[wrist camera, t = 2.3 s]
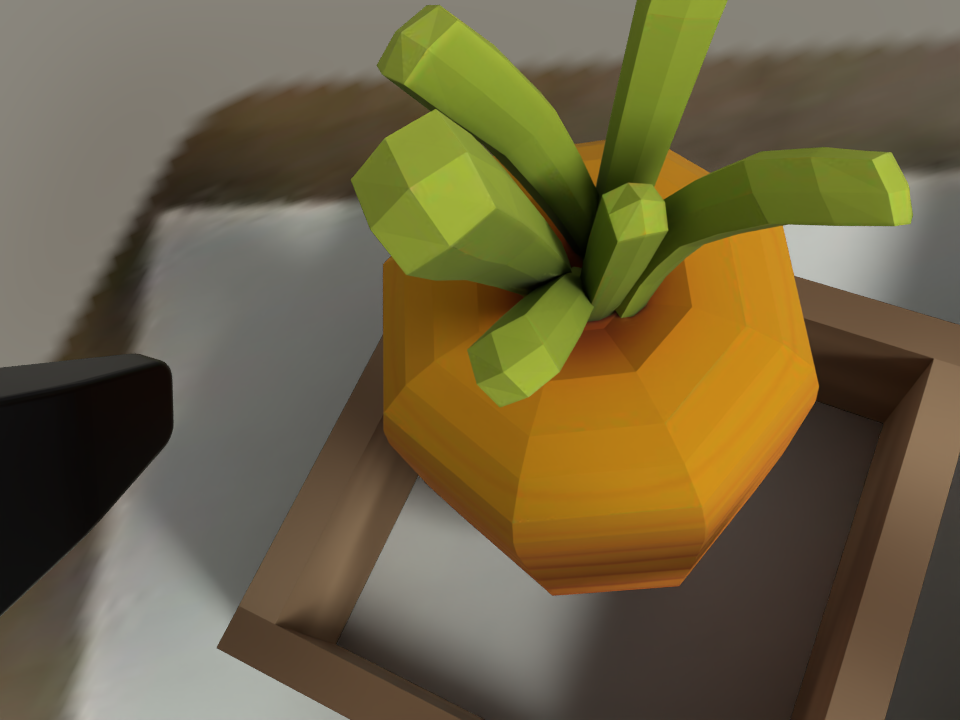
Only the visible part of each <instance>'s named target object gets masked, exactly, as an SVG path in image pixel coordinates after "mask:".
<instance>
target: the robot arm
mask: <svg viewBox="0 0 960 720" xmlns="http://www.w3.org/2000/svg"><path fill="white" fill-rule="evenodd" d="M173 423H174V420H173V385H172V373H171V370H170V368H169V366H168V365H167V364H166V363H165V362H163V361H160V360H157V359H154V358H151V357H147V356H144V355H141V354H125V355H115V356H106V357H97V358H87V359H78V360H68V361H59V362H50V363H40V364H31V365H21V366H12V367H3V368H0V616H1V615H2V614H4V613H5V612H6V611H7V610H8V609H9V608H10V607H11V606H12V605H13V604H14V603H15V602H16V601H17V600H18V599H20V598H21V597H22V596H23V595H24V594H25V593H26V592H27V591H28V590H29V589H30V588H31V587H32V586H33V585H35V584H36V583H37V582H38V581H39V580H40V579H41V578H42V577H43V576H44V575H45V574H46V573H47V572H48V571H49V570H51V569H52V568H53V567H54V566H55V565H56V564H57V563H58V562H59V561H60V560H61V559H62V558H63V557H64V556H65V555H67V554H68V553H69V552H70V551H71V550H72V549H73V548H74V547H75V546H76V545H77V544H78V543H79V542H80V541H81V540H82V539H83V538H84V537H85V536H86V535H87V534H88V533H89V532H90V531H91V530H92V529H93V527H94V526H95V525H96V524H97V523H98V522H99V521H100V520H101V519H102V518H103V516H104V515H105V514H106V513H107V512H108V511H109V510H110V508H111V507H112V506H113V505H114V504H115V503H116V502H117V500H118V499H119V498H120V497H121V496H122V495H123V494H124V493H125V491H126V490H127V489H128V488H129V487H130V486H131V485H132V483H133V482H134V481H135V480H136V479H137V478H138V477H139V475H140V474H141V473H142V472H143V471H144V470H145V469H146V468H147V466H148V465H149V464H150V463H151V462H152V461H153V460H154V458H155V457H156V456H157V455H158V454H159V453H160V452H161V450H162V449H163V448H164V447H165V446H166V444H167V443H168V441H169V439H170V437H171V434H172V431H173Z"/></svg>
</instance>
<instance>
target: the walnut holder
mask: <svg viewBox="0 0 960 720" xmlns="http://www.w3.org/2000/svg"><path fill="white" fill-rule="evenodd" d="M794 278H795V282H796V287H797V291H798V295H799V300H800V304H801V309H802V313H803V318H804V322H805V326H806V331H807V335H808V340H809V344H810V349H811V353H812V357H813V362H814V366H815V371H816V375H817V379H818V384H819V389H818V393H817V398H816V401H819V402H822V403H825V404H828V405H831V406H834V407H837V408H840V409H843V410H846V411H849V412H852V413H854V414H857V415H860V416H863V417H866V418H869V419H872V420H875V421H878V422H881V423H884V424H883V427H882V430H881V433H880V436H879V440H878V443H877V446H876V449H875V452H874V455H873V459H872V462H871V465H870V468H869V471H868V475H867V478H866V481H865V484H864V487H863V490H862V494H861V497H860V500H859V503H858V506H857V510H856V513H855V516H854V519H853V522H852V525H851V529H850V532H849V535H848V538H847V541H846V545H845V548H844V551H843V554H842V557H841V560H840V564H839V567H838V570H837V573H836V576H835V580H834V583H833V586H832V589H831V592H830V595H829V599H828V602H827V605H826V608H825V611H824V615H823V618H822V621H821V624H820V627H819V630H818V634H817V637H816V640H815V643H814V646H813V649H812V653H811V656H810V659H809V662H808V665H807V669H806V672H805V675H804V678H803V681H802V684H801V688H800V691H799V694H798V697H797V700H796V704H795V707H794V710H793V713H792V716H791V719H790V720H885V717H886V713H887V710H888V706H889V703H890V699H891V695H892V692H893V688H894V685H895V681H896V678H897V674H898V671H899V667H900V663H901V660H902V656H903V653H904V649H905V646H906V642H907V639H908V635H909V631H910V628H911V624H912V621H913V617H914V614H915V610H916V606H917V603H918V599H919V596H920V592H921V589H922V585H923V582H924V578H925V574H926V571H927V567H928V564H929V560H930V557H931V553H932V550H933V546H934V542H935V539H936V535H937V532H938V528H939V525H940V521H941V518H942V514H943V510H944V507H945V503H946V500H947V496H948V493H949V489H950V485H951V482H952V478H953V475H954V471H955V468H956V464H957V461H958V457H959V453H960V325H958V324H955V323H951V322H948V321H944V320H941V319H938V318H934V317H931V316H928V315H924V314H921V313H918V312H914V311H911V310H907V309H904V308H901V307H897V306H894V305H891V304H887V303H884V302H880V301H877V300H874V299H870V298H867V297H864V296H860V295H857V294H854V293H850V292H847V291H843V290H840V289H837V288H833V287H830V286H827V285H823V284H820V283H817V282H813V281H810V280H806V279H803V278H800V277H796V276H794ZM417 477H418V474H417V473H416V472H415V471H414V470H413V468H412V467H411V466H410V465H409V464H408V463H407V462H406V461H405V460H404V459H403V458H402V457H401V456H400V455H399V453H398V452H397V451H396V450H395V449H394V448H393V447H392V446H391V445H390V444H389V442H388V439H387V437H386V435H385V433H384V431H383V336H382V337H381V339H380V341H379V343H378V345H377V347H376V349H375V351H374V352H373V354H372V356H371V358H370V360H369V362H368V364H367V366H366V368H365V369H364V371H363V373H362V375H361V377H360V379H359V381H358V383H357V384H356V386H355V388H354V390H353V392H352V394H351V396H350V398H349V399H348V401H347V403H346V405H345V407H344V409H343V411H342V413H341V415H340V416H339V418H338V420H337V422H336V424H335V426H334V428H333V430H332V431H331V433H330V435H329V437H328V439H327V441H326V443H325V445H324V447H323V448H322V450H321V452H320V454H319V456H318V458H317V460H316V462H315V463H314V465H313V467H312V469H311V471H310V473H309V475H308V477H307V478H306V480H305V482H304V484H303V486H302V488H301V490H300V492H299V494H298V495H297V497H296V499H295V501H294V503H293V505H292V507H291V509H290V510H289V512H288V514H287V516H286V518H285V520H284V522H283V524H282V526H281V527H280V529H279V531H278V533H277V535H276V537H275V539H274V541H273V542H272V544H271V546H270V548H269V550H268V552H267V554H266V556H265V557H264V559H263V561H262V563H261V565H260V567H259V569H258V571H257V573H256V574H255V576H254V578H253V580H252V582H251V584H250V586H249V588H248V589H247V591H246V593H245V595H244V597H243V599H242V601H241V603H240V605H239V606H238V608H237V610H236V612H235V614H234V616H233V618H232V620H231V621H230V623H229V625H228V627H227V629H226V631H225V633H224V635H223V636H222V638H221V640H220V642H219V644H218V646H217V648H218V649H219V650H221V651H223V652H225V653H227V654H229V655H231V656H232V657H234V658H236V659H238V660H240V661H242V662H244V663H246V664H247V665H249V666H251V667H253V668H255V669H257V670H259V671H261V672H262V673H264V674H266V675H268V676H270V677H272V678H274V679H275V680H277V681H279V682H281V683H283V684H285V685H287V686H289V687H290V688H292V689H294V690H296V691H298V692H300V693H302V694H304V695H305V696H307V697H309V698H311V699H313V700H315V701H317V702H318V703H320V704H322V705H324V706H326V707H328V708H330V709H332V710H333V711H335V712H337V713H339V714H341V715H343V716H345V717H347V718H348V719H350V720H485V719H483V718H481V717H479V716H477V715H475V714H473V713H471V712H469V711H467V710H465V709H463V708H461V707H459V706H457V705H455V704H453V703H451V702H449V701H447V700H445V699H443V698H441V697H439V696H437V695H435V694H433V693H431V692H429V691H427V690H425V689H423V688H421V687H419V686H417V685H415V684H413V683H412V682H410V681H408V680H406V679H404V678H402V677H400V676H398V675H396V674H394V673H392V672H390V671H388V670H386V669H384V668H382V667H380V666H378V665H376V664H374V663H372V662H370V661H368V660H366V659H364V658H362V657H360V656H358V655H356V654H354V653H352V652H350V651H348V650H346V649H344V648H342V647H340V646H338V645H337V644H336V643H337V641H338V639H339V637H340V635H341V633H342V631H343V629H344V626H345V624H346V622H347V620H348V618H349V616H350V614H351V612H352V610H353V608H354V606H355V604H356V602H357V600H358V598H359V596H360V594H361V592H362V590H363V588H364V586H365V584H366V581H367V579H368V577H369V575H370V573H371V571H372V569H373V567H374V565H375V563H376V561H377V559H378V557H379V555H380V553H381V551H382V549H383V547H384V545H385V543H386V541H387V539H388V536H389V534H390V532H391V530H392V528H393V526H394V524H395V522H396V520H397V518H398V516H399V514H400V512H401V510H402V508H403V506H404V504H405V502H406V500H407V498H408V496H409V493H410V491H411V489H412V487H413V485H414V483H415V481H416V479H417Z"/></svg>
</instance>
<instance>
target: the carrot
mask: <svg viewBox="0 0 960 720" xmlns="http://www.w3.org/2000/svg"><path fill="white" fill-rule="evenodd" d="M726 3H727V0H637V2H636V6H635V11H634V15H633V20H632V24H631V28H630V33H629V37H628V42H627V46H626V50H625V55H624V59H623V64H622V68H621V72H620V77H619V81H618V86H617V90H616V94H615V99H614V103H613V108H612V113H611V117H610V122H609V127H608V131H607V136H606V140H602V141H595V142H587V143H580V144H574V143H573V141H572V139H571V138H570V136H569V134H568V132H567V130H566V129H565V127H564V125H563V123H562V122H561V120H560V118H559V116H558V114H557V113H556V111H555V110H554V108H553V107H552V106H551V105H550V103H549V102H548V101H547V100H546V99H545V97H544V96H543V95H542V94H541V93H540V91H539V90H538V89H537V88H536V87H535V86H534V85H533V84H532V83H531V82H530V81H529V80H528V79H527V78H526V77H525V76H524V75H523V74H522V73H521V72H520V71H519V70H518V69H517V68H516V67H515V66H514V65H513V64H512V63H511V62H510V61H509V60H508V59H507V58H506V57H505V56H504V55H503V54H502V53H501V52H500V51H499V50H498V49H497V48H496V47H495V46H494V45H493V44H492V43H490V42H489V41H488V40H486V39H485V38H484V37H482V36H481V35H480V34H478V33H477V32H475V31H474V30H473V29H471V28H470V27H469V26H467V25H466V24H465V23H463V22H462V21H460V20H459V19H458V18H456V17H455V16H454V15H452V14H451V13H450V12H448V11H447V10H446V9H444V8H443V7H441V6H440V5H427V6H425V7H424V8H423V9H422V10H421V11H420V12H418V13H417V14H416V15H415V16H413V17H412V18H411V19H410V20H409V21H408V22H407V23H405V24H404V25H403V26H402V27H400V28H399V29H398V30H397V31H396V32H395V34H394V35H393V37H392V39H391V41H390V43H389V44H388V46H387V48H386V50H385V52H384V53H383V55H382V57H381V59H380V60H379V62H378V64H377V67H378V68H379V70H380V72H381V73H382V75H384V76H385V77H386V78H388V79H389V80H390V81H392V82H393V83H394V84H396V85H397V86H398V87H400V88H401V89H402V90H403V91H405V92H406V93H407V94H409V95H410V96H411V97H413V98H414V99H415V100H417V101H418V102H419V103H421V104H422V105H423V106H425V107H426V108H427V109H428V110H430V111H431V112H429V113H428V114H426V115H424V116H422V117H421V118H419V119H417V120H415V121H414V122H412V123H410V124H409V125H407V126H405V127H403V128H402V129H400V130H398V131H396V132H395V133H393V134H391V135H389V136H388V137H386V138H385V139H384V140H383V141H382V142H381V144H380V145H379V146H378V147H377V148H376V150H375V151H374V152H373V153H372V155H371V156H370V157H369V158H368V159H367V161H366V162H365V163H364V164H363V165H362V167H361V168H360V169H359V170H358V172H357V173H356V174H355V175H354V176H353V178H352V179H351V182H352V184H353V187H354V189H355V192H356V194H357V197H358V199H359V202H360V205H361V207H362V210H363V212H364V215H365V217H366V220H367V222H368V225H369V228H370V230H371V231H372V232H373V234H374V235H375V236H376V237H377V239H378V240H379V241H380V242H381V244H382V245H383V246H384V247H385V249H386V250H387V251H388V252H389V254H390V255H391V257H390V258H389V259H388V260H387V261H386V262H385V263H384V264H383V431H384V433H385V435H386V437H387V439H388V442H389V444H390V445H391V446H392V447H393V448H394V449H395V450H396V451H397V452H398V453H399V455H400V456H401V457H402V458H403V459H404V460H405V461H406V462H407V463H408V464H409V465H410V466H411V467H412V468H413V470H414V471H415V472H416V473H417V474H418V475H419V476H420V477H421V478H422V479H423V480H424V481H425V482H426V483H427V485H428V486H429V487H430V488H432V489H433V490H434V491H435V492H436V493H437V494H438V495H439V496H440V497H441V498H443V499H444V500H445V501H446V502H447V503H448V504H449V505H450V506H451V507H452V508H454V509H455V510H456V511H457V512H458V513H459V514H460V515H461V516H462V517H463V518H465V519H466V520H467V521H468V522H469V523H470V524H471V525H473V526H474V527H475V528H476V529H477V530H478V531H479V532H481V533H482V534H483V535H484V536H485V537H486V538H487V539H489V540H490V541H491V542H492V543H493V544H494V545H495V546H497V547H498V548H499V549H500V550H501V551H502V552H503V553H505V554H506V555H507V556H508V557H509V558H510V559H511V560H513V561H514V562H515V563H516V564H517V565H518V566H519V567H520V568H522V569H523V570H524V571H525V572H526V573H527V574H528V575H530V576H531V577H532V578H533V579H534V580H535V581H536V582H538V583H539V584H540V585H541V586H542V587H543V588H544V589H546V590H547V591H548V592H549V593H550V594H551V595H552V596H554V595H569V594H582V593H596V592H609V591H622V590H635V589H648V588H662V587H674V586H680V584H681V583H682V582H683V581H684V579H685V578H686V577H687V576H688V574H689V573H690V572H691V571H692V569H693V568H694V567H695V566H696V564H697V563H698V562H699V561H700V559H701V558H702V557H703V556H704V554H705V553H706V552H707V551H708V549H709V548H710V547H711V545H712V544H713V543H714V542H715V540H716V539H717V538H718V537H719V535H720V534H721V533H722V532H723V530H724V529H725V528H726V527H727V525H728V524H729V523H730V522H731V520H732V519H733V518H734V517H735V515H736V514H737V513H738V512H739V510H740V509H741V508H742V507H743V505H744V504H745V503H746V502H747V500H748V499H749V498H750V497H751V495H752V494H753V493H754V492H755V490H756V489H757V488H758V486H759V485H760V484H761V482H762V481H763V480H764V478H765V477H766V476H767V474H768V473H769V472H770V470H771V469H772V468H773V466H774V465H775V464H776V462H777V461H778V460H779V458H780V457H781V456H782V454H783V453H784V451H785V450H786V448H787V446H788V445H789V443H790V442H791V440H792V438H793V437H794V435H795V434H796V432H797V430H798V429H799V427H800V426H801V424H802V422H803V421H804V419H805V417H806V416H807V414H808V413H809V411H810V409H811V408H812V406H813V405H814V403H815V401H816V398H817V393H818V389H819V384H818V379H817V375H816V371H815V366H814V362H813V357H812V353H811V349H810V344H809V340H808V335H807V331H806V326H805V322H804V318H803V313H802V309H801V304H800V300H799V295H798V291H797V287H796V282H795V278H794V273H793V269H792V265H791V260H790V256H789V251H788V247H787V242H786V238H785V234H784V229H783V225H788V224H793V225H828V226H899V225H906V224H911V220H912V217H913V212H912V206H911V199H910V189H909V185H908V183H907V181H906V179H905V177H904V175H903V173H902V171H901V169H900V168H899V166H898V164H897V162H896V160H895V158H894V156H893V155H892V153H891V152H876V151H860V150H849V149H838V148H827V147H820V148H805V149H791V150H777V151H762V152H759V153H757V154H754V155H752V156H750V157H747V158H745V159H742V160H740V161H738V162H735V163H733V164H730V165H728V166H726V167H723V168H721V169H719V170H716V171H714V172H711V173H709V172H707V171H705V170H704V169H702V168H700V167H699V166H697V165H695V164H693V163H692V162H690V161H688V160H687V159H685V158H683V157H681V156H680V155H678V154H676V153H675V152H673V151H671V150H669V148H670V145H671V143H672V140H673V137H674V135H675V132H676V130H677V127H678V125H679V122H680V120H681V117H682V114H683V112H684V109H685V107H686V104H687V102H688V99H689V97H690V94H691V91H692V89H693V86H694V84H695V81H696V79H697V76H698V74H699V71H700V68H701V66H702V63H703V61H704V58H705V56H706V53H707V51H708V48H709V46H710V43H711V40H712V38H713V35H714V33H715V30H716V27H717V25H718V23H719V20H720V17H721V15H722V13H723V10H724V8H725V5H726ZM479 142H480V143H481V144H483V145H484V146H485V147H486V148H487V149H488V150H489V151H490V152H491V153H492V154H493V155H494V156H492V155H491V154H490V153H489V152H488V151H487V150H486V149H485V148H484V147H483V146H482V145H481V144H480V143H479Z"/></svg>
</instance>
